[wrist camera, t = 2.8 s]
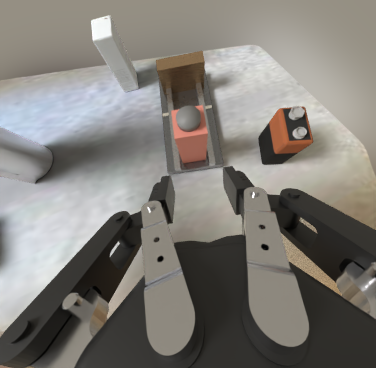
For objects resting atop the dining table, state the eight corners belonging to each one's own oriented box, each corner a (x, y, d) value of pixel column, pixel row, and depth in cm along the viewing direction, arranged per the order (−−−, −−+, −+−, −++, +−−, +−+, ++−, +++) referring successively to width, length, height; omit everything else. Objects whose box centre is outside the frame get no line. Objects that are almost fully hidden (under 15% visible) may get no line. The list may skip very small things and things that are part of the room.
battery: (277, 135, 32) (310, 100, 22) (282, 164, 31) (320, 139, 21) (257, 137, 33) (281, 103, 23) (261, 165, 31) (288, 141, 21)
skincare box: (122, 76, 40) (90, 19, 29) (136, 72, 40) (110, 13, 29) (124, 93, 39) (91, 40, 27) (139, 89, 39) (112, 34, 27)
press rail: (222, 166, 32) (228, 151, 24) (169, 174, 32) (160, 162, 25) (204, 75, 38) (205, 41, 31) (160, 83, 39) (150, 52, 31)
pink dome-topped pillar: (205, 159, 31) (208, 128, 20) (182, 163, 31) (172, 134, 20) (202, 139, 32) (202, 98, 21) (180, 142, 32) (169, 104, 21)
